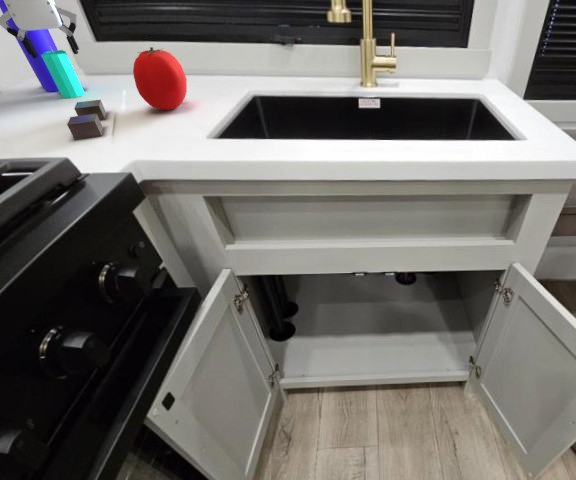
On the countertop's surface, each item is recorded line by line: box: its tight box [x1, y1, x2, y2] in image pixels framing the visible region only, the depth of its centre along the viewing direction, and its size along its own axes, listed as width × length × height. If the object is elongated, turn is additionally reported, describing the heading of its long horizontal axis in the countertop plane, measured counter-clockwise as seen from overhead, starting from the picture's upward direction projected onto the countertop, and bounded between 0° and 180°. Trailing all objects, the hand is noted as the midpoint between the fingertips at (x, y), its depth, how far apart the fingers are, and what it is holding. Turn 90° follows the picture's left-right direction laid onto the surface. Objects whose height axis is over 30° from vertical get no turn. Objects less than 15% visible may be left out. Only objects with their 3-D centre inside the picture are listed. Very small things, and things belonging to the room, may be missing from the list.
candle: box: [41, 46, 86, 99], centre depth 90 cm, size 6×6×12 cm
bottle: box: [0, 0, 59, 93], centre depth 90 cm, size 8×8×30 cm
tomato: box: [132, 46, 188, 111], centre depth 79 cm, size 12×12×13 cm
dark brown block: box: [73, 99, 107, 121], centre depth 76 cm, size 5×5×4 cm
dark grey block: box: [66, 114, 104, 141], centre depth 68 cm, size 5×5×4 cm
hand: (56, 55), depth 88 cm, fingers open, 9 cm apart
